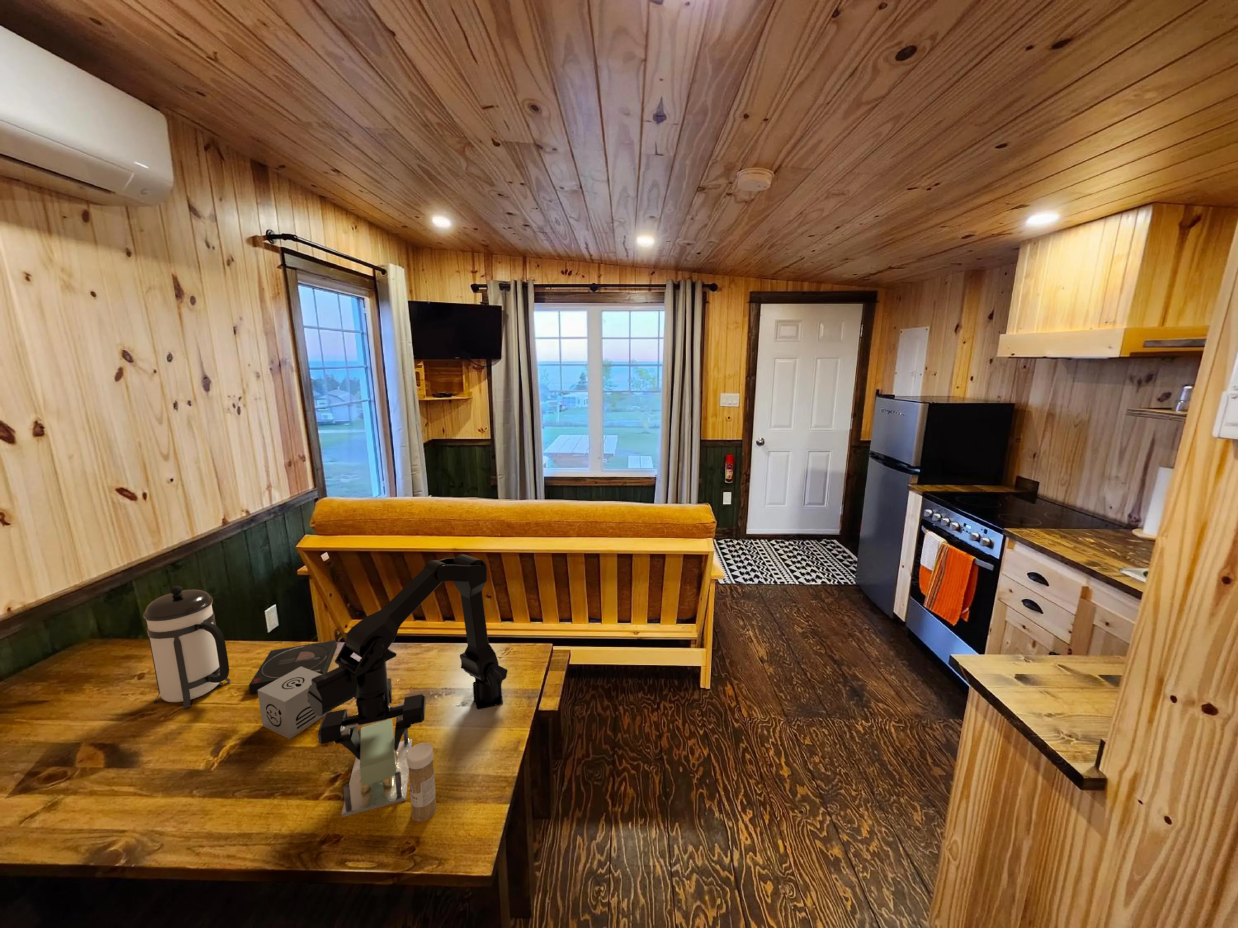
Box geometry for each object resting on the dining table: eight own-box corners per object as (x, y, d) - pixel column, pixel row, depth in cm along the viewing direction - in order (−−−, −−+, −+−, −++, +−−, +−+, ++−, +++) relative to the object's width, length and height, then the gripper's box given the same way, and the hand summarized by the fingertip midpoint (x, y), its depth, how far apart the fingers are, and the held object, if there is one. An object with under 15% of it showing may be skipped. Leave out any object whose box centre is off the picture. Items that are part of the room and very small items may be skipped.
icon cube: (331, 712, 116) (327, 676, 114) (290, 740, 107) (284, 701, 105) (305, 701, 120) (301, 666, 118) (262, 727, 111) (257, 689, 109)
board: (362, 743, 100) (360, 727, 99) (393, 734, 103) (392, 718, 102) (361, 786, 90) (359, 768, 89) (396, 774, 92) (394, 757, 92)
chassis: (357, 754, 103) (355, 730, 102) (412, 742, 106) (410, 719, 105) (341, 818, 88) (338, 790, 87) (405, 801, 91) (403, 774, 90)
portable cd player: (337, 650, 143) (336, 638, 142) (324, 684, 127) (322, 671, 126) (273, 661, 137) (271, 649, 136) (251, 698, 121) (248, 684, 120)
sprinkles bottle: (407, 813, 89) (401, 751, 87) (429, 797, 92) (425, 737, 90) (418, 828, 86) (413, 764, 84) (441, 811, 89) (437, 749, 87)
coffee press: (141, 724, 111) (118, 607, 106) (167, 685, 125) (148, 580, 120) (233, 701, 119) (216, 591, 114) (247, 668, 133) (233, 568, 128)
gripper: (424, 654, 104) (429, 716, 107) (327, 671, 98) (335, 736, 101) (421, 685, 94) (426, 753, 96) (313, 705, 87) (322, 777, 90)
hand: (378, 753), depth 96 cm, fingers closed on board, 6 cm apart
